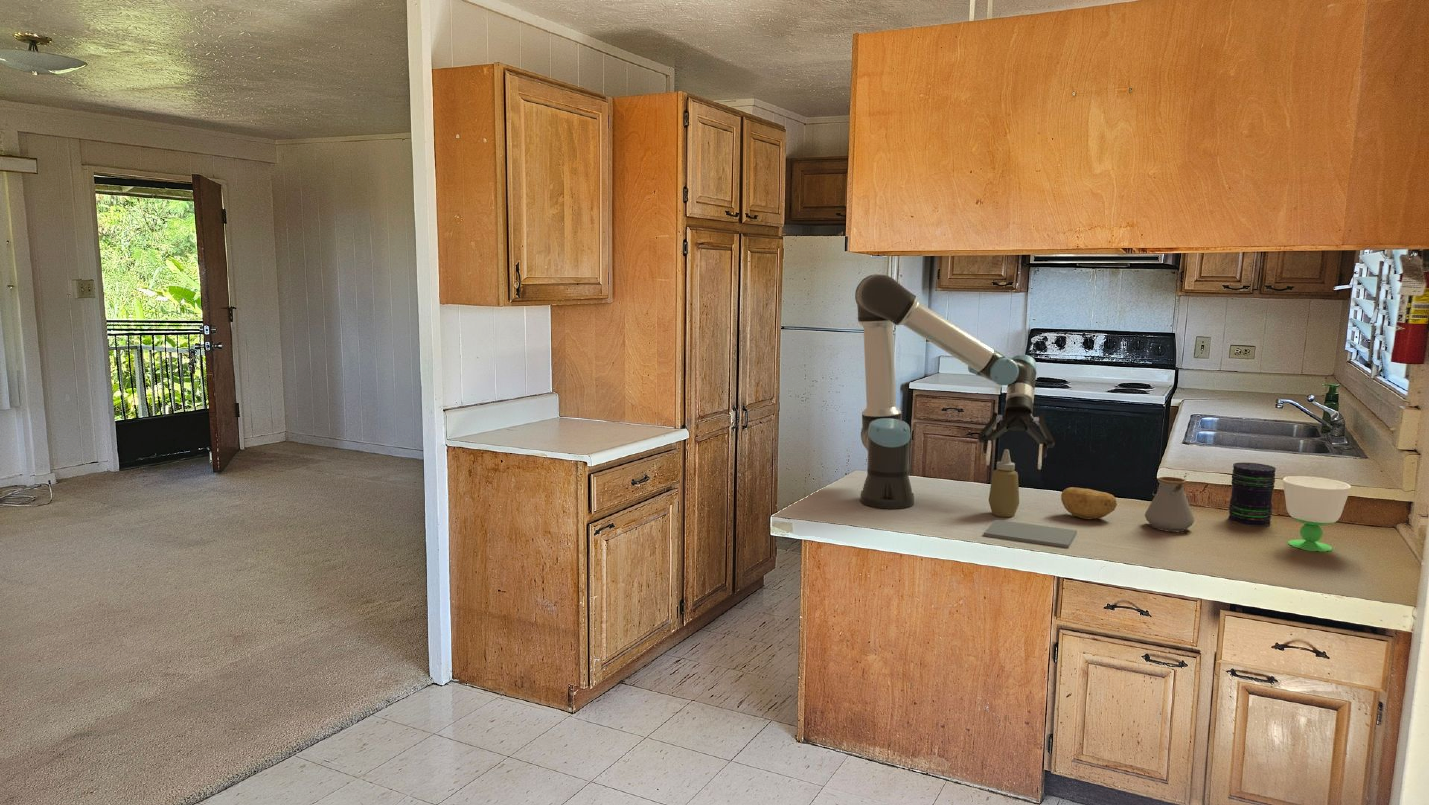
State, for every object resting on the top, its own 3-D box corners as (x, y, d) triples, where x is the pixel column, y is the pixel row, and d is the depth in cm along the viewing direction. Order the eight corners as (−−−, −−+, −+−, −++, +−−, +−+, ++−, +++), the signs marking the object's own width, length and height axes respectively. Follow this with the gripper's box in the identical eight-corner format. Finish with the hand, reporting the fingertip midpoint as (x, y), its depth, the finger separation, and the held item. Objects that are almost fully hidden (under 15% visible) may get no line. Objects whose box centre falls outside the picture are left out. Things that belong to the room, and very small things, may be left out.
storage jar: (1279, 526, 233) (1284, 470, 231) (1241, 526, 233) (1246, 470, 231) (1256, 516, 243) (1261, 462, 240) (1220, 516, 243) (1224, 462, 240)
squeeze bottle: (981, 514, 244) (985, 449, 241) (997, 509, 249) (1001, 445, 247) (1008, 520, 238) (1012, 454, 235) (1024, 515, 243) (1028, 450, 241)
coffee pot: (1142, 520, 239) (1146, 465, 237) (1190, 524, 235) (1195, 468, 232) (1149, 542, 219) (1153, 482, 217) (1202, 547, 215) (1207, 486, 213)
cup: (1293, 553, 210) (1300, 488, 208) (1266, 536, 224) (1272, 475, 221) (1356, 556, 208) (1364, 490, 206) (1325, 539, 222) (1332, 476, 219)
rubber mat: (983, 535, 224) (983, 532, 224) (995, 522, 236) (996, 519, 236) (1068, 548, 214) (1068, 544, 214) (1076, 533, 226) (1076, 530, 226)
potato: (1113, 526, 233) (1115, 496, 231) (1056, 518, 240) (1058, 489, 239) (1118, 517, 241) (1120, 488, 240) (1063, 510, 248) (1065, 482, 247)
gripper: (1065, 412, 255) (1061, 475, 243) (975, 407, 264) (967, 468, 253) (1066, 397, 249) (1062, 460, 238) (974, 392, 259) (965, 453, 247)
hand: (1013, 464), depth 245 cm, fingers open, 13 cm apart
